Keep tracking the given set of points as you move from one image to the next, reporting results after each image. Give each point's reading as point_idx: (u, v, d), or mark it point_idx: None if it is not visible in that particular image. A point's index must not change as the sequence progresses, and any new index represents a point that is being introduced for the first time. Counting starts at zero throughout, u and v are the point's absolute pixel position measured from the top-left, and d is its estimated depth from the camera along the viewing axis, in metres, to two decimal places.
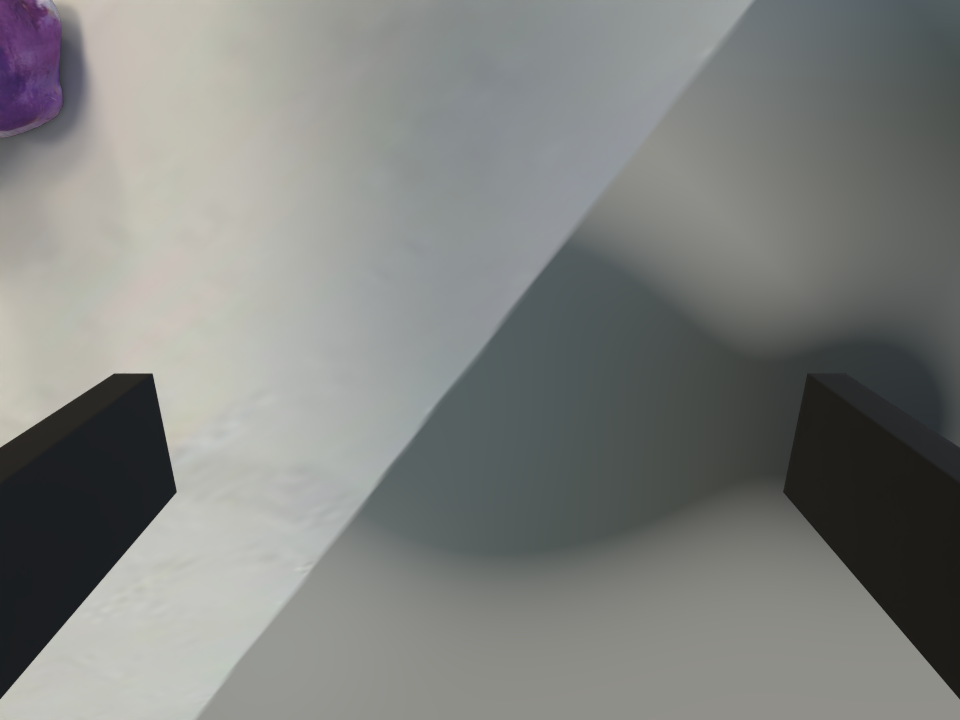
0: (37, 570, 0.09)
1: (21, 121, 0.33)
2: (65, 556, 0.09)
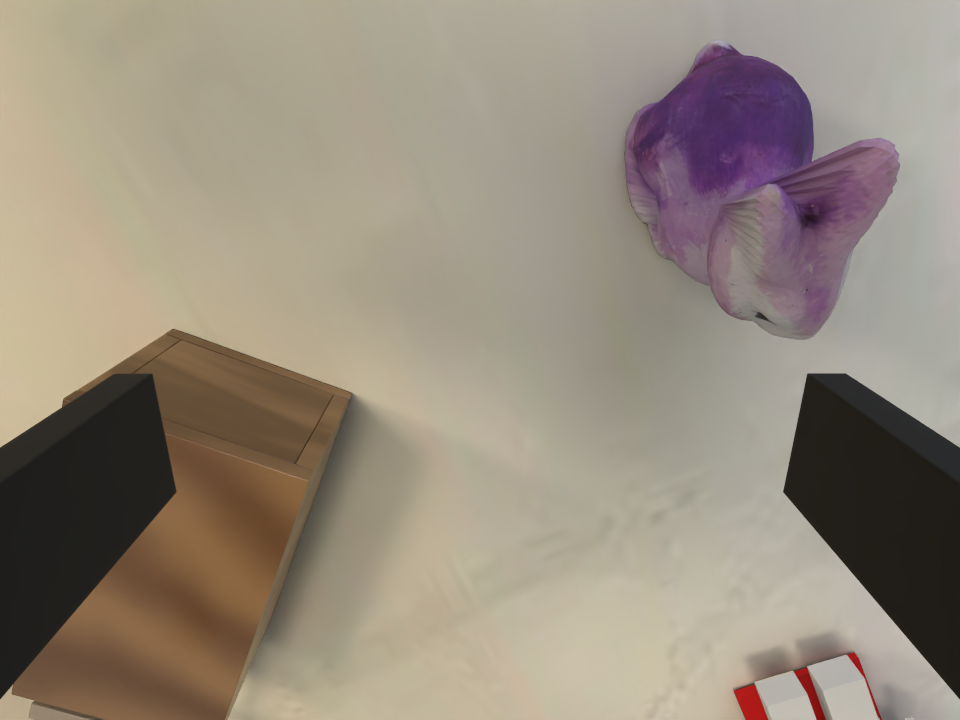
0: (37, 570, 0.09)
1: None
2: (65, 556, 0.09)
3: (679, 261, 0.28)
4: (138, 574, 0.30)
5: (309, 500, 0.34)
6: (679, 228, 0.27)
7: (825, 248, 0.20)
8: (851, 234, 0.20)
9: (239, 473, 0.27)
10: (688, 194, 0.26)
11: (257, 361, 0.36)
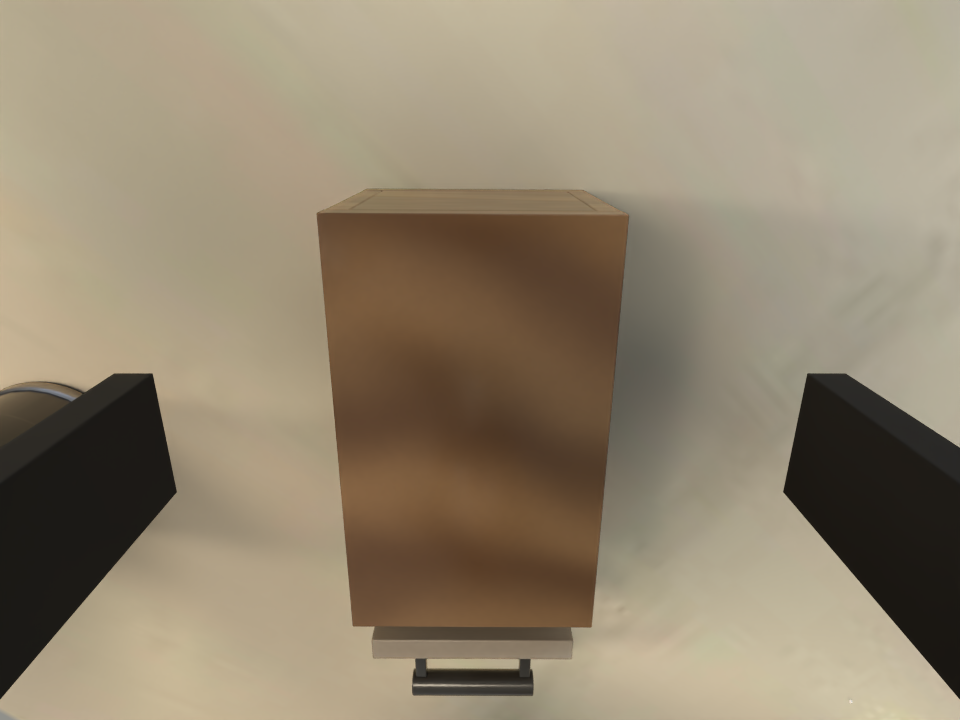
0: (37, 570, 0.09)
1: None
2: (65, 556, 0.09)
3: None
4: (454, 422, 0.24)
5: None
6: None
7: None
8: None
9: (542, 236, 0.22)
10: None
11: (468, 189, 0.30)
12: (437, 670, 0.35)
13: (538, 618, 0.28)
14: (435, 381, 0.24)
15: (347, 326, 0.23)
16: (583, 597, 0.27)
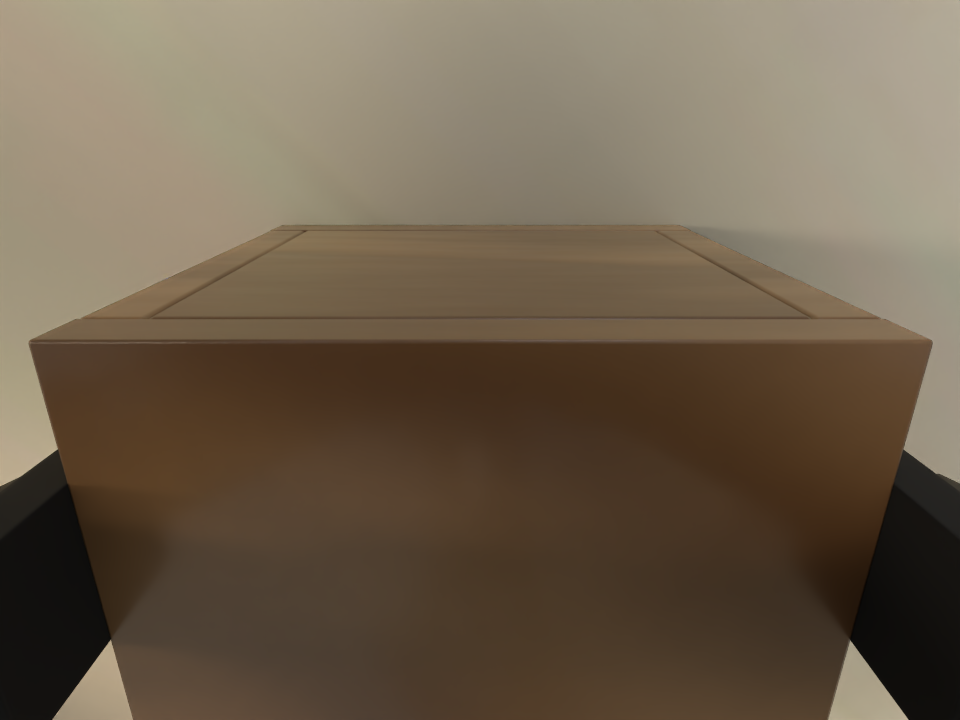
0: None
1: None
2: None
3: None
4: None
5: None
6: None
7: None
8: None
9: (677, 400, 0.08)
10: None
11: (469, 226, 0.16)
12: None
13: None
14: None
15: (156, 613, 0.09)
16: None
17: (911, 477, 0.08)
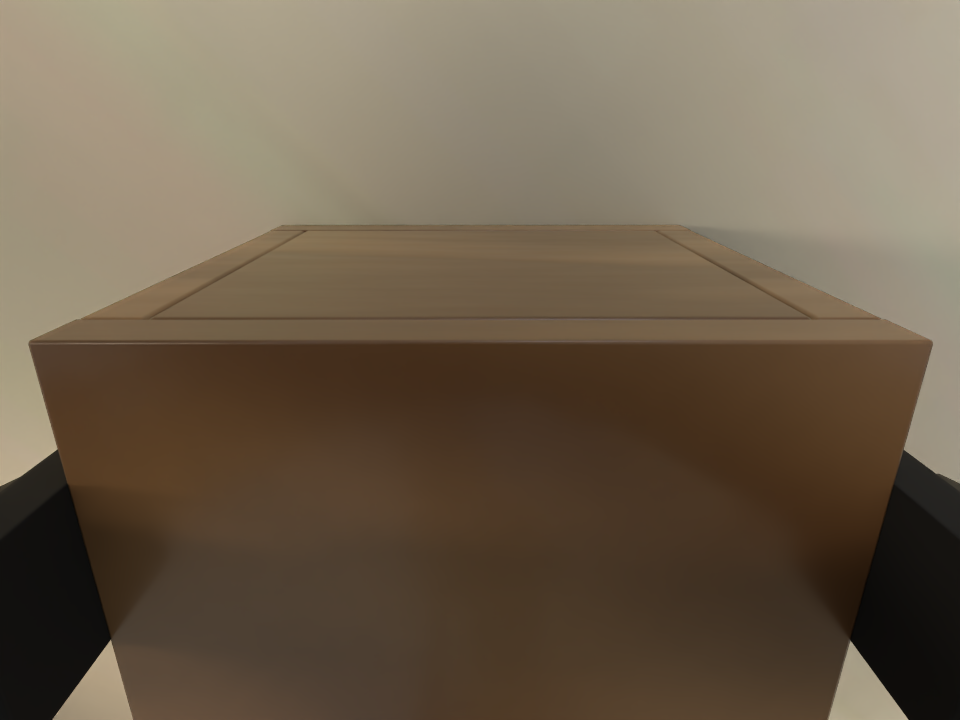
0: None
1: None
2: None
3: None
4: None
5: None
6: None
7: None
8: None
9: (677, 400, 0.08)
10: None
11: (469, 226, 0.16)
12: None
13: None
14: None
15: (156, 614, 0.09)
16: None
17: (911, 477, 0.08)
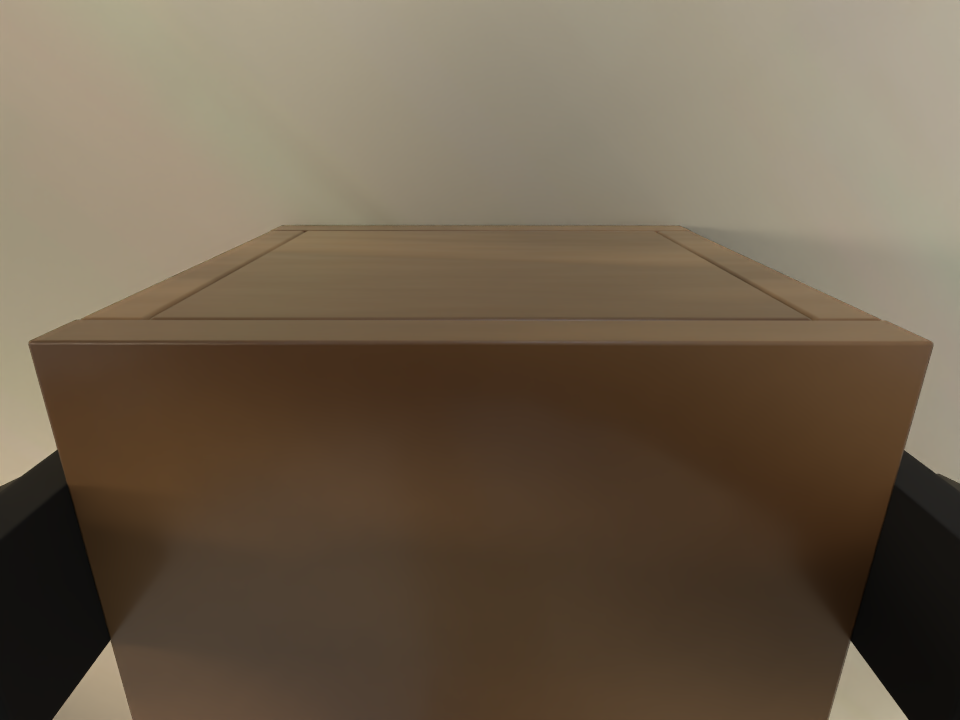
0: None
1: None
2: None
3: None
4: None
5: None
6: None
7: None
8: None
9: (677, 401, 0.08)
10: None
11: (469, 226, 0.16)
12: None
13: None
14: None
15: (156, 614, 0.09)
16: None
17: (911, 477, 0.08)
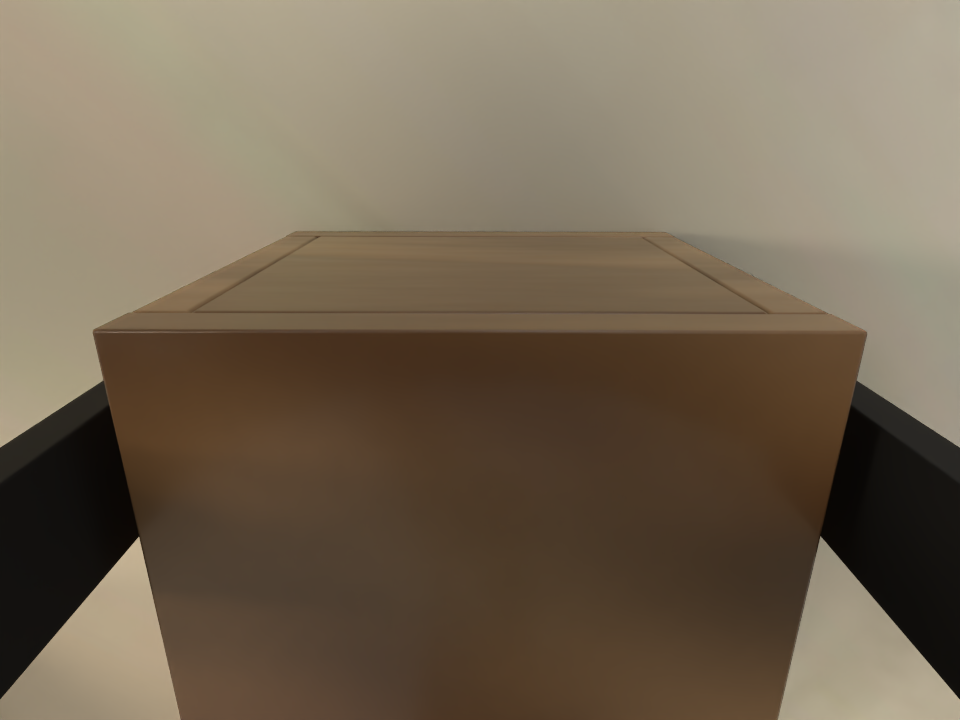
0: (36, 570, 0.09)
1: None
2: (65, 556, 0.09)
3: None
4: None
5: None
6: None
7: None
8: None
9: (649, 382, 0.09)
10: None
11: (469, 232, 0.18)
12: None
13: None
14: (397, 674, 0.11)
15: (194, 572, 0.10)
16: None
17: None
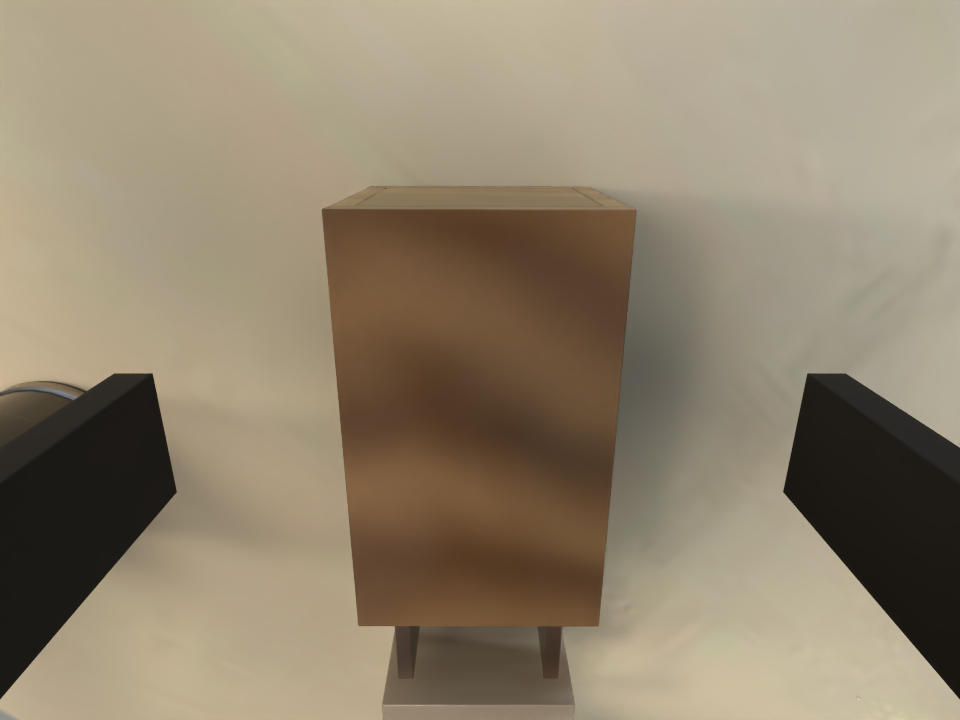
0: (36, 570, 0.09)
1: None
2: (65, 556, 0.09)
3: None
4: (460, 420, 0.24)
5: None
6: None
7: None
8: None
9: (548, 231, 0.21)
10: None
11: (473, 186, 0.30)
12: None
13: (545, 617, 0.28)
14: (441, 378, 0.23)
15: (352, 323, 0.23)
16: (590, 595, 0.27)
17: None
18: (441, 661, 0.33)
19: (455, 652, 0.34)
